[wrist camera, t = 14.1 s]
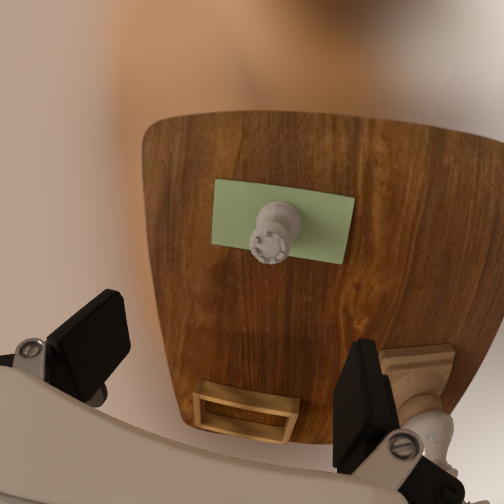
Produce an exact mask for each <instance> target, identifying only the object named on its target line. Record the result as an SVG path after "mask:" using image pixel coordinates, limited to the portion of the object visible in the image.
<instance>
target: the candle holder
mask: <svg viewBox="0 0 504 504" xmlns="http://www.w3.org/2000/svg"><path fill="white" fill-rule="evenodd" d="M454 356H455V350H454V348H453V346H452V344H439V345H429V346H419V347H407V348H393V349H384V350H381V351H380V352H379V356H378V358H379V362H380V366H381V370H382V374H383V375H388V377H389V379H390V383H391V387H392V392H393V396H394V400H395V405H396V410H397V415H398V419H399V424H400V427H401V428H400V429H409V430H411V431H413V432H415V433H416V434H418V435H419V436H420V438H421V439H422V441H423V444H424V452H423V454H422V455H423V456H425V457H426V458H428V459H429V460H430V461H432V462H433V463H435V464H436V465H438V466H439V467H441V468H442V469H443V470H445V471H446V472H448V473H449V474H451V475H452V476H454V477H455V478H456V477H457V475H458V471H457V470H456V469H454V468H452V466H451V465H449V464H448V463H447V461H446V454H447V450H448V447H449V444H450V442H451V439H452V435H453V431H454V423H453V419H452V417H451V416H450V415H449V414H448V413H447V412H444V411H441V408H442V403H441V400H440V396H441V394H442V392H443V390H444V387H445V385H446V383H447V380H448V378H449V375H450V372H451V369H452V364H453V360H454ZM472 504H490V503H489V501H479V502H476V503H472Z"/></svg>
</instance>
